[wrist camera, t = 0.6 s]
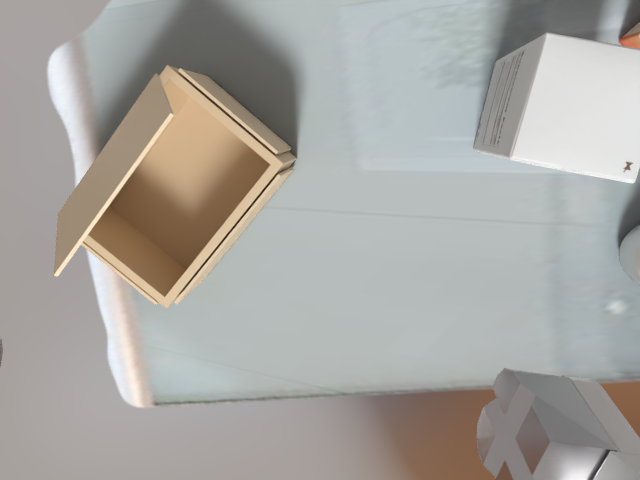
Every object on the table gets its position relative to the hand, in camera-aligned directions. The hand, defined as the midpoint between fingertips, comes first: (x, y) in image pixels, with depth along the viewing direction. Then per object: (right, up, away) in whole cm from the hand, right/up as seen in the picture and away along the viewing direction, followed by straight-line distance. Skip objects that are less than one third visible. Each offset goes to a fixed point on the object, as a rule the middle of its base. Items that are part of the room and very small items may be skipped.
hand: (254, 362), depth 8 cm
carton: (-12, +8, +46) cm, 48 cm away
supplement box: (+21, +14, +41) cm, 48 cm away
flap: (-18, +11, +37) cm, 43 cm away
